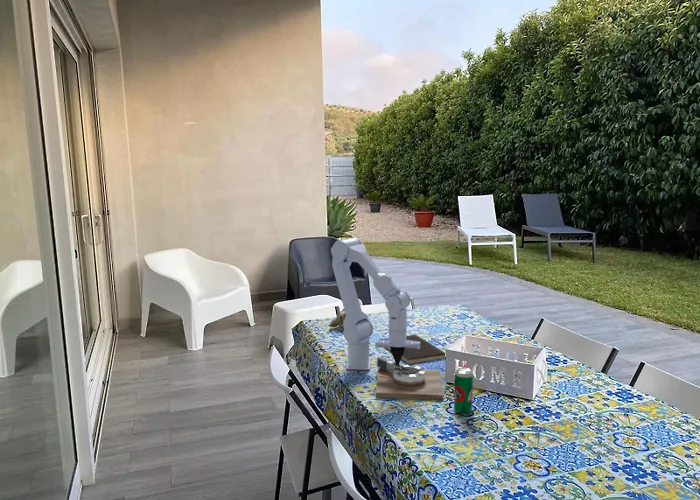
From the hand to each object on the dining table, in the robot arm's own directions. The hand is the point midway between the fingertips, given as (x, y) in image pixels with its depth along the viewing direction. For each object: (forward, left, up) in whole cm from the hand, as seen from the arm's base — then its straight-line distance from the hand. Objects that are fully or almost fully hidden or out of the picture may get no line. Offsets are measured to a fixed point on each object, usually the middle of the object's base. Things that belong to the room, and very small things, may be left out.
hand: (397, 368), depth 184 cm
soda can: (+24, +19, -3) cm, 31 cm away
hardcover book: (-25, +5, -3) cm, 26 cm away
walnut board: (+7, +4, -3) cm, 8 cm away
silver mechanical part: (+4, 0, -1) cm, 4 cm away
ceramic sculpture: (-52, -22, -3) cm, 56 cm away
